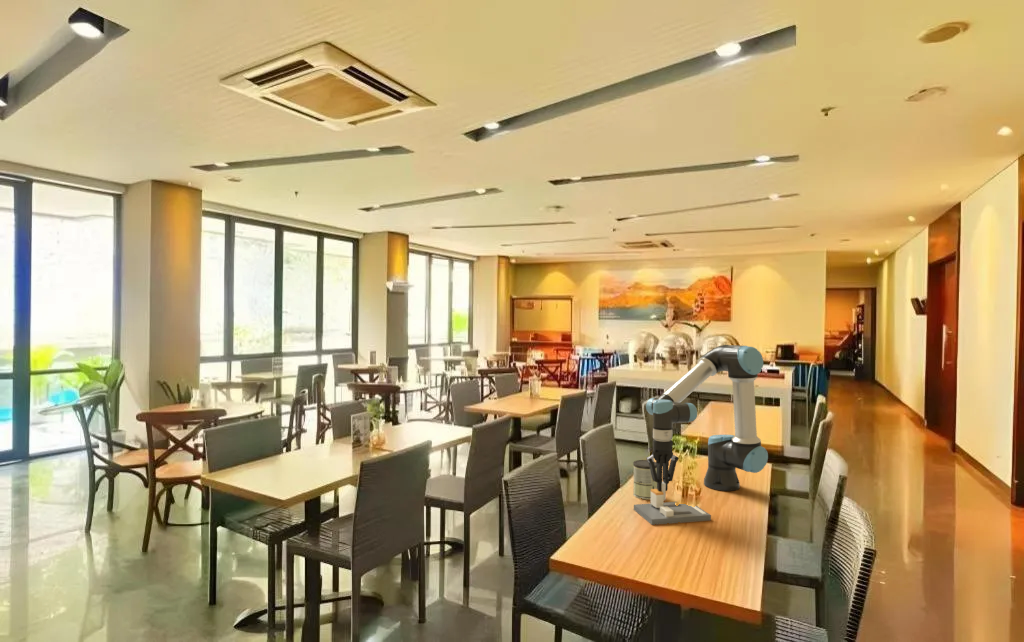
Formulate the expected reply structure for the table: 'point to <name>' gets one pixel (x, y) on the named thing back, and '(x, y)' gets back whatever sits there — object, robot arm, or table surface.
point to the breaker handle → (657, 498)
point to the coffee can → (643, 479)
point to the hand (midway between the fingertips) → (662, 499)
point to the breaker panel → (675, 518)
